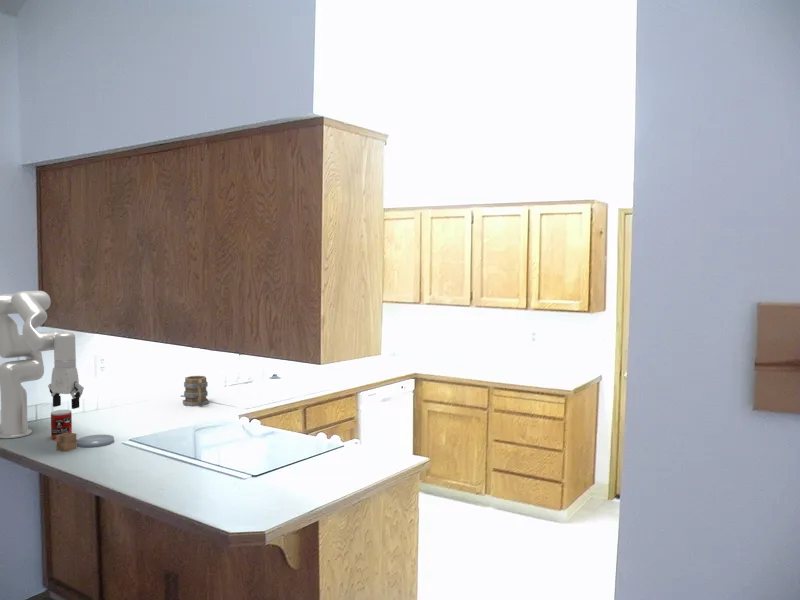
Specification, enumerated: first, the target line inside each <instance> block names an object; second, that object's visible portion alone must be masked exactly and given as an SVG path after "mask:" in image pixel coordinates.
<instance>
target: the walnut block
mask: <svg viewBox="0 0 800 600" xmlns="http://www.w3.org/2000/svg"><path fill="white" fill-rule="evenodd" d="M76 440H77V433H73V432H72V433H68V432H66V433H63V434H59V435H56V443H55V444H56V445H55V446H56V447H55V448H56V449H55V450H56V451H57V452H58V451H59V452H65V453H67V452H69V451H72V450H73V451H74V450H76V449H77V445H76Z"/></svg>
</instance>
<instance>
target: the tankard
mask: <svg viewBox="0 0 800 600" xmlns="http://www.w3.org/2000/svg"><path fill="white" fill-rule="evenodd" d="M184 378H185V381H184V382H183V386H184V391H183V395H184V398H185V399H183V400H182V404H183V406H185V407H203V406H206V405H209V404H210V401H209V399H208V392H209V391H208V390H207V388H208V381H207V377H206V376H204V375H190V376H185V377H184Z"/></svg>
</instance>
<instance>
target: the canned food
mask: <svg viewBox="0 0 800 600" xmlns="http://www.w3.org/2000/svg"><path fill="white" fill-rule="evenodd" d="M72 414H73V413H72V409H57V410H53V411H51V413H50V437H51V439H52V440H53V441H55V440H56V435H59V434H63V433H66V432H68V433H73V431H72V425H73V421H72V416H73V415H72Z"/></svg>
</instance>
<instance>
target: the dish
mask: <svg viewBox="0 0 800 600" xmlns="http://www.w3.org/2000/svg"><path fill="white" fill-rule="evenodd" d="M114 442H115V437H114V435H111V434H92V435H90V434H89V435H86V436H82V437H79V438H78V439H77V438H76V447H79V448H84V449H85V448H89V449H90V448H99V447H100V448H101V447H104V446H105V447H106V446H108V445H112V444H113V443H114Z"/></svg>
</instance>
